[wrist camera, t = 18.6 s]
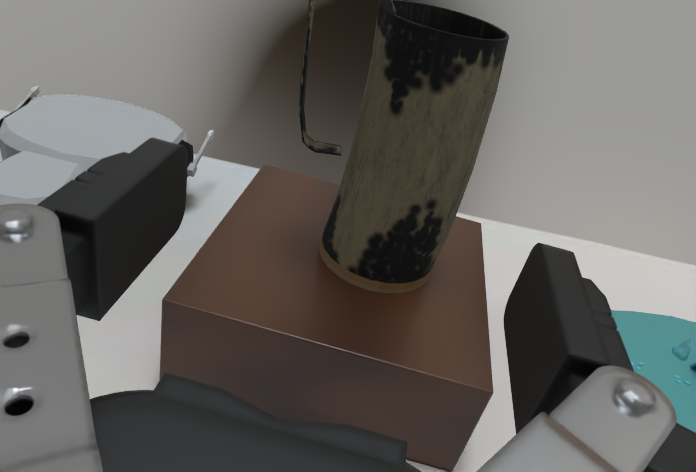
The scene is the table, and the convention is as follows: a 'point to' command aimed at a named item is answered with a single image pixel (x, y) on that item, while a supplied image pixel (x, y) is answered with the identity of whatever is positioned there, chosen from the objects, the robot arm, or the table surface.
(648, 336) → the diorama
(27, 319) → the robot arm
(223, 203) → the table surface
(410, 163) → the mug
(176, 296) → the walnut block
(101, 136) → the robot toy
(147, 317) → the table surface
